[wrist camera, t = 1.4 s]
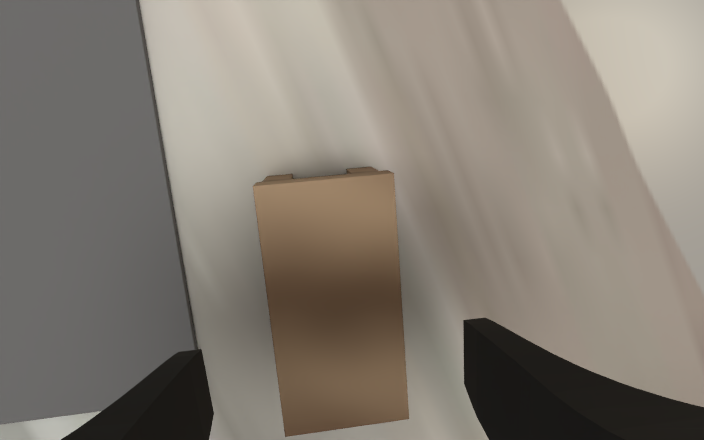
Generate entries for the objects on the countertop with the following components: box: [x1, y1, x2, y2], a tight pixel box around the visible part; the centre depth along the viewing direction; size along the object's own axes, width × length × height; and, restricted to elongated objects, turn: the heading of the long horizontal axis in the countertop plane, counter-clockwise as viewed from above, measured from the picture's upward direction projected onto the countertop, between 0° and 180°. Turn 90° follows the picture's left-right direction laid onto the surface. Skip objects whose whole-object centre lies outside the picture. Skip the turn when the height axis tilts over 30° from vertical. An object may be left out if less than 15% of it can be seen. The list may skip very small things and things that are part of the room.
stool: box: [253, 167, 409, 437], centre depth 19 cm, size 10×5×6 cm, turn 5°
